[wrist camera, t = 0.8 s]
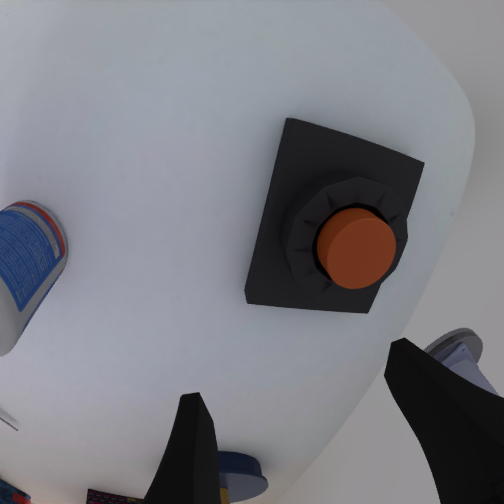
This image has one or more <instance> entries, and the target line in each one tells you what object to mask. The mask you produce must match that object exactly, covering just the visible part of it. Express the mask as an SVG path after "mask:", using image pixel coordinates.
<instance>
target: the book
mask: <svg viewBox="0 0 504 504" xmlns="http://www.w3.org/2000/svg"><path fill="white" fill-rule="evenodd" d="M30 499H31V497H30V496H29V495H27V494H25V493H23V492H21V491H20V490H18V489H16V488H14V487H13V486H11V485H9V484H8V483H6V482H4V481H3V480H1V479H0V504H31V501H30Z"/></svg>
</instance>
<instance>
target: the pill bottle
mask: <svg viewBox="0 0 504 504" xmlns="http://www.w3.org/2000/svg"><path fill="white" fill-rule="evenodd" d="M66 261H67V242H66V237H65V234H64V232H63V230H62V228H61V226H60V224H59V222H58V221H57V219H56V218H55V217H54V216H53V215H52V213H51V212H50V211H48V210H47V209H46V208H45V207H43V206H41V205H40V204H38V203H35V202H32V201H19V202H16V203H13V204H11V205H10V206H8V207H6V208H5V209H3V210H2V211H0V357H1V356H4V355H6V354H7V353H9V352H10V351H11V350H12V349H13V347H14V346H15V345H16V343H17V341H18V340H19V338H20V337H21V335H22V333H23V332H24V330H25V328H26V327H27V325H28V323H29V322H30V320H31V318H32V317H33V315H34V314H35V312H36V311H37V309H38V308H39V306H40V304H41V303H42V301H43V300H44V298H45V297H46V295H47V294H48V292H49V291H50V289H51V288H52V287H53V285H54V284H55V282H56V281H57V279H58V278H59V276H60V275H61V273H62V271H63V269H64V267H65V264H66Z"/></svg>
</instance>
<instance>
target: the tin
mask: <svg viewBox="0 0 504 504" xmlns="http://www.w3.org/2000/svg"><path fill="white" fill-rule="evenodd" d="M218 466H219V469H234V470H244V471H250V472H254V473H258V474H260V475H262V472H261V466H260V464H259V462H258V461H257V460H256V459H255V458H253V457H251V456H248V455H245V454H241V453H235V452H218Z"/></svg>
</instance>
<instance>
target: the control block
mask: <svg viewBox="0 0 504 504" xmlns="http://www.w3.org/2000/svg"><path fill="white" fill-rule="evenodd" d="M423 167H424V162H421V161H419V160H417V159H414V158H412V157H409V156H407V155H404V154H402V153H399V152H397V151H394V150H391V149H389V148H386V147H383V146H381V145H378V144H375V143H372V142H369V141H367V140H364V139H361V138H358V137H355V136H352V135H349V134H346V133H343V132H339V131H336V130H333V129H330V128H326V127H323V126H320V125H316V124H313V123H309V122H305V121H302V120H298V119H294V118H286V121H285V125H284V129H283V134H282V138H281V142H280V146H279V150H278V154H277V158H276V162H275V166H274V171H273V175H272V179H271V183H270V187H269V191H268V195H267V199H266V203H265V207H264V212H263V216H262V220H261V224H260V228H259V232H258V236H257V240H256V244H255V248H254V252H253V257H252V261H251V265H250V269H249V273H248V277H247V281H246V285H245V289H244V291H245V296H246V301H247V303H248V304H255V305H265V306H276V307H286V308H297V309H309V310H322V311H335V312H350V313H366V314H367V313H368V312H369V310H370V308H371V306H372V304H373V301H374V299H375V297H376V295H377V293H378V290H379V288H380V286H381V283H382V282H383V281H384V280H385V279H386V278H387V277H388V276H389V275H390V274H391V273H392V272H393V271H394V270H395V269H396V267H397V265H398V263H399V261H400V258H401V256H402V253H403V251H404V248H405V246H406V243H407V239H408V233H407V217H408V214H409V211H410V209H411V206H412V203H413V200H414V197H415V193H416V190H417V187H418V184H419V181H420V178H421V174H422V171H423ZM349 208H363V209H366V210H368V211H370V212H371V213H373V214H374V215H375V216H377V217H378V218H379V219H381V220H382V221H384V222H385V223H386V224H387V225H388V226H389V227H390V228H391V230H392V232H393V234H394V237H395V242H396V250H395V255H394V259H393V261H392V263H391V265H390V267H389V269H388V270H387V271H386V273H385V274H384V275H383V276H382V277H381V278H380V279H379V280H377V281H376V282H374V283H373V284H371V285H369V286H366V287H364V288H359V289H348V288H344V287H342V286H340V285H338V284H337V283H335V282H334V281H333V280H332V278H331V277H330V276H329V274H328V273H327V271H326V270H325V268H324V267H323V265H322V264H321V262H320V260H319V258H318V255H317V240H318V236H319V234H320V231H321V229H322V228H323V226H324V225H325V223H326V222H327V221H328V220H329V219H330V218H331V217H332V216H333V215H335V214H336V213H338V212H340V211H342V210H345V209H349Z"/></svg>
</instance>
